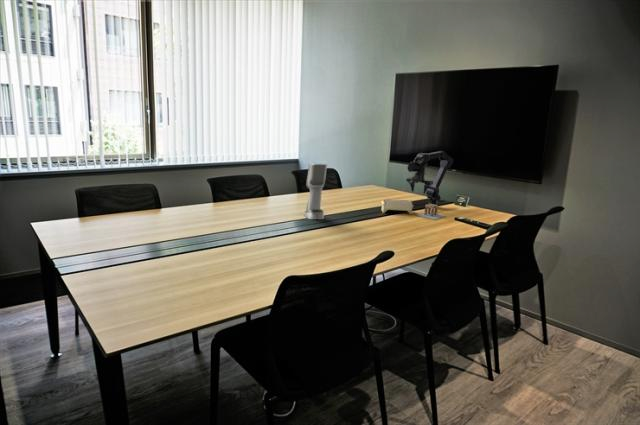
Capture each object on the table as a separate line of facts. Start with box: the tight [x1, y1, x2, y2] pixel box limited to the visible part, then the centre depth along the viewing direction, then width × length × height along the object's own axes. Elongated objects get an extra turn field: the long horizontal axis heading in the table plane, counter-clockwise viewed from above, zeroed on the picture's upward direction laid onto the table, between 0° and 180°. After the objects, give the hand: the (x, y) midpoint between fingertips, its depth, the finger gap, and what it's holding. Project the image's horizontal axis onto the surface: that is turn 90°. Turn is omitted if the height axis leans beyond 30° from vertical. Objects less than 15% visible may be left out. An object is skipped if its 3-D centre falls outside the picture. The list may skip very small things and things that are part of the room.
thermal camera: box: [303, 163, 328, 221], centre depth 265 cm, size 12×13×35 cm
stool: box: [424, 203, 439, 217], centre depth 288 cm, size 6×6×7 cm
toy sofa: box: [380, 198, 414, 215], centre depth 292 cm, size 21×9×10 cm, turn 91°
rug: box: [415, 211, 446, 221], centre depth 288 cm, size 16×14×1 cm
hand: (418, 192), depth 303 cm, fingers open, 9 cm apart
